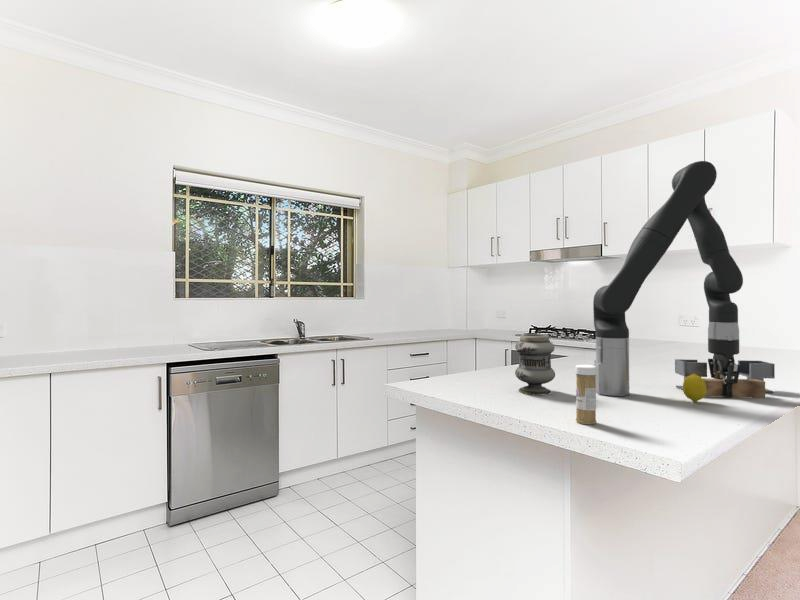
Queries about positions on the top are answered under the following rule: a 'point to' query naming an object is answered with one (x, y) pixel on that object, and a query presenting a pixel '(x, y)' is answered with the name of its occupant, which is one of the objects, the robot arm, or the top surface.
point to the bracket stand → (747, 367)
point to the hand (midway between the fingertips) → (723, 395)
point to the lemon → (694, 387)
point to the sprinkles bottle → (586, 394)
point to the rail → (736, 388)
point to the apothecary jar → (535, 363)
